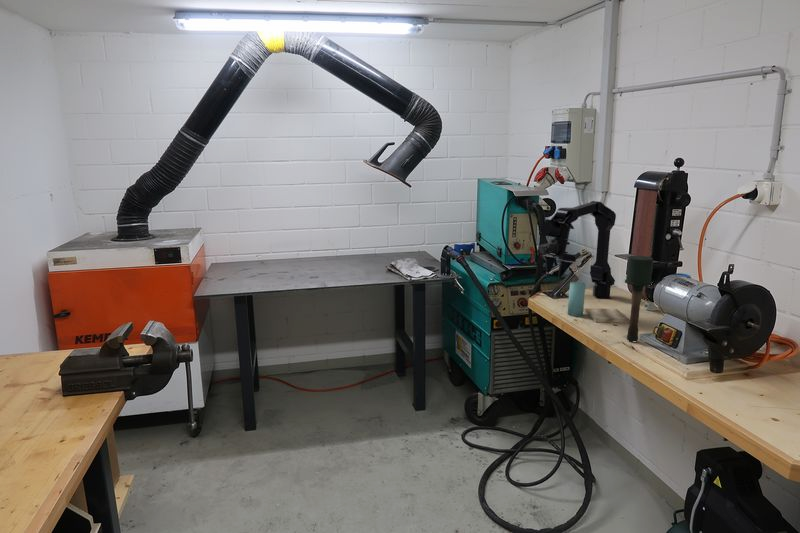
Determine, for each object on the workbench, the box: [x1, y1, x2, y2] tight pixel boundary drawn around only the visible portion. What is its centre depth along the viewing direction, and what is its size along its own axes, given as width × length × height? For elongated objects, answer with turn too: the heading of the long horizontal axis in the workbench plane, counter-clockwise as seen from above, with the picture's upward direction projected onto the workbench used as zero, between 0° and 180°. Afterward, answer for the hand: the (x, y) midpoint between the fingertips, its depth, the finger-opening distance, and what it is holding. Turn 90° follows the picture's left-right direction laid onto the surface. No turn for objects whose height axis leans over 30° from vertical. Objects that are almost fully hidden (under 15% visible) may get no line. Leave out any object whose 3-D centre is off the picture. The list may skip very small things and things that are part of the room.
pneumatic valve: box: [641, 298, 658, 312], centre depth 222 cm, size 6×12×12 cm, turn 105°
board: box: [584, 308, 630, 323], centre depth 214 cm, size 13×13×2 cm
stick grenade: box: [624, 255, 654, 342], centre depth 185 cm, size 8×9×30 cm
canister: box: [567, 281, 586, 318], centre depth 216 cm, size 6×6×13 cm
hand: (553, 274), depth 224 cm, fingers open, 9 cm apart
